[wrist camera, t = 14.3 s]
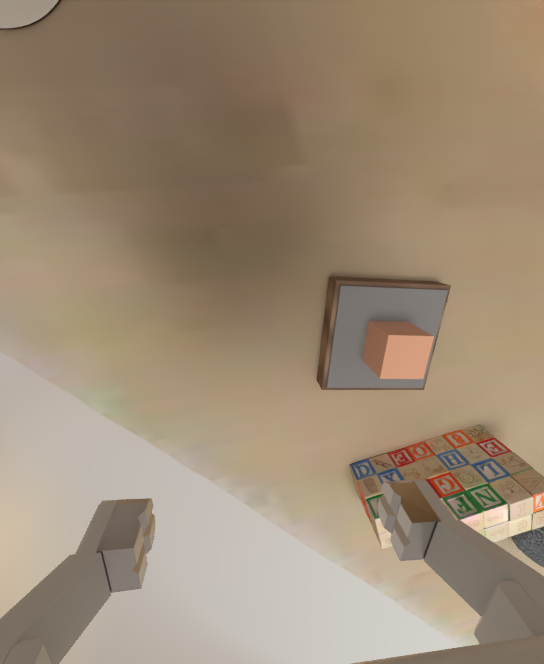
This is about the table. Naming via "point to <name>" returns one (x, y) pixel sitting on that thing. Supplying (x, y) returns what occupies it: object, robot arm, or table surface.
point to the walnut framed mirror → (352, 321)
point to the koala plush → (531, 544)
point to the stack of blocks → (460, 482)
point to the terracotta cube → (397, 349)
